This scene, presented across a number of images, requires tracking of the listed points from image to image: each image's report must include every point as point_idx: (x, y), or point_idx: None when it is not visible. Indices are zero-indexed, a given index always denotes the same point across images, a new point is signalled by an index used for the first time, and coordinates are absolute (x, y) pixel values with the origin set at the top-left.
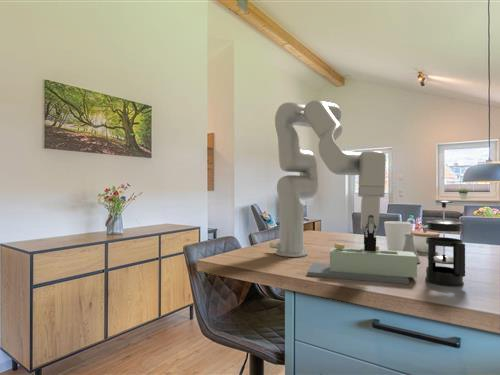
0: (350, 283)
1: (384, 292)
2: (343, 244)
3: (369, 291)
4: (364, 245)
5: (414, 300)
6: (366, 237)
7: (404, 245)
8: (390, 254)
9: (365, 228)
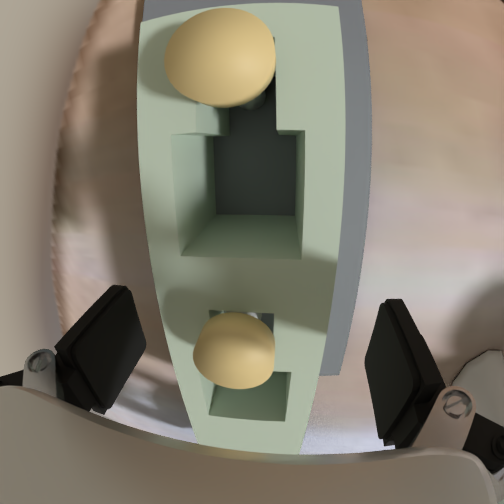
0: (100, 171)
1: (70, 276)
2: (209, 93)
3: (58, 237)
4: (94, 304)
5: (62, 327)
6: (45, 355)
7: (502, 400)
8: (193, 393)
9: (414, 439)
